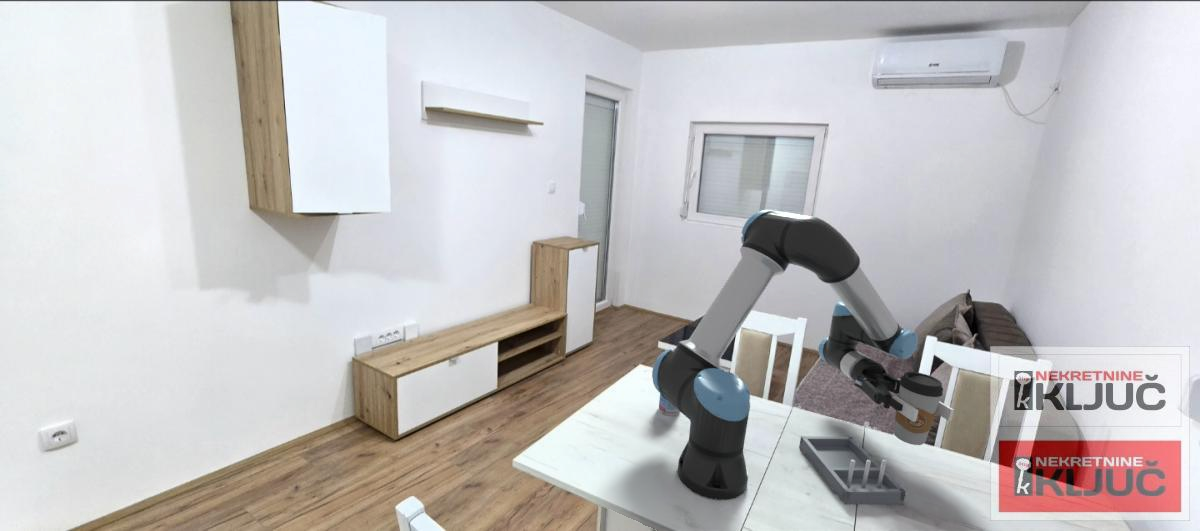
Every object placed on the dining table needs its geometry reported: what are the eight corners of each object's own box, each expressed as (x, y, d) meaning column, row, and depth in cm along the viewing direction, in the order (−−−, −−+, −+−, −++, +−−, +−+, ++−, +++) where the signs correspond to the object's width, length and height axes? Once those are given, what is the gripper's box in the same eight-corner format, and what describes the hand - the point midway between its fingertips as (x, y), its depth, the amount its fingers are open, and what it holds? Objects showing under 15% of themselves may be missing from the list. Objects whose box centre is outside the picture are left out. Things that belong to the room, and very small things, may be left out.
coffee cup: (889, 440, 109) (902, 380, 106) (887, 424, 116) (899, 367, 113) (932, 452, 105) (947, 391, 102) (927, 435, 113) (941, 377, 109)
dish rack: (799, 446, 118) (803, 419, 117) (849, 447, 119) (854, 420, 118) (844, 504, 99) (850, 472, 97) (903, 504, 100) (910, 473, 98)
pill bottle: (656, 405, 135) (659, 368, 132) (677, 404, 136) (680, 368, 133) (661, 416, 129) (664, 378, 127) (683, 416, 130) (687, 378, 127)
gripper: (895, 383, 129) (970, 429, 107) (824, 383, 125) (887, 431, 104) (901, 357, 127) (978, 399, 105) (829, 357, 124) (894, 400, 102)
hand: (933, 415), depth 105 cm, fingers closed on coffee cup, 8 cm apart
